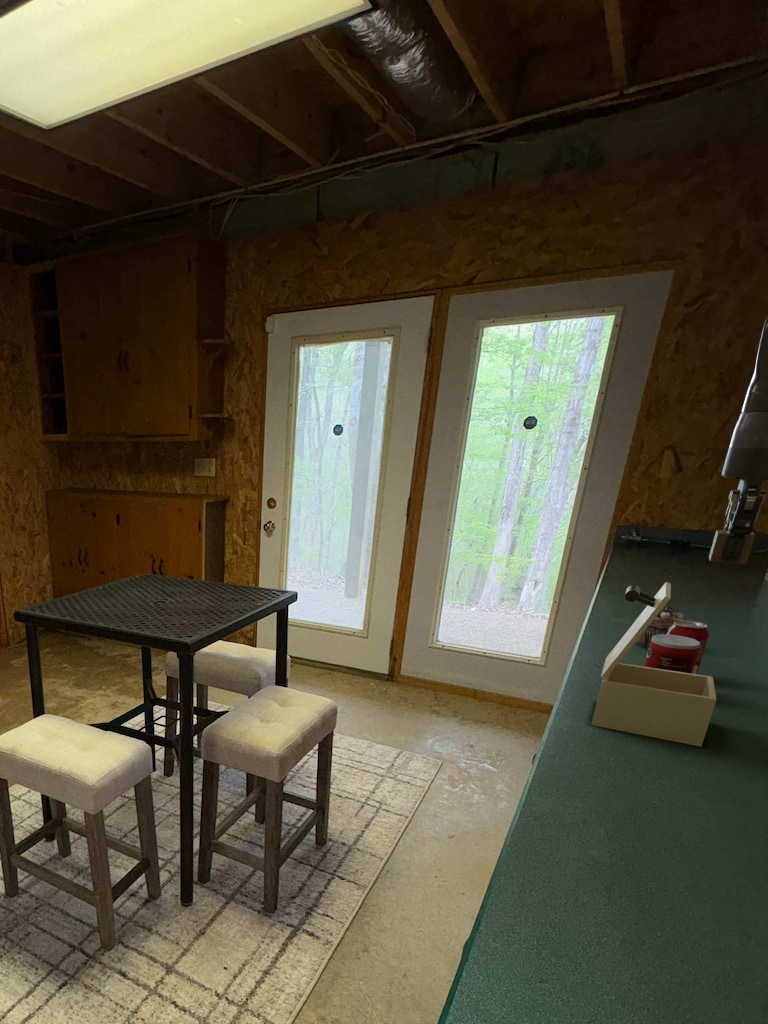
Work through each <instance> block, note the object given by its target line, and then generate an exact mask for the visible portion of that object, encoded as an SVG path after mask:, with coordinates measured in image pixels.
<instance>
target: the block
mask: <svg viewBox="0 0 768 1024" xmlns="http://www.w3.org/2000/svg"><path fill="white" fill-rule="evenodd" d="M727 531H728V530H724V529H716V530H715V534H714V537H713V540H712V544H711V548H710V551H709V556H708V560H709V562H714V563H725V562H724V561H722V560H721V556H722V552H723V549H724V546H725V542H726V539H727V534H726V533H727ZM755 537H756V534H755V533H754V531H752V533H750V535H748V538H746V540H745V543H744V547H743V550H742V553H741V556H740V560H739V561H738V562H726V563H729V564H743V565H745V564H747V563H748V559H749V556H750V553H751V551H752V546H753V543H754V541H755Z"/></svg>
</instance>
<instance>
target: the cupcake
mask: <svg viewBox="0 0 768 1024" xmlns="http://www.w3.org/2000/svg"><path fill="white" fill-rule="evenodd" d="M679 610H680V609H677V608H673V607H671V606H670V605H669V606H666V607H664V608H663V609H662V610H661V611H660V612H659V614H658V615H657V616H656V617H655V619H654V620H653V621H652V622H651V624H650V625H649V626H648V627H647V628H646V630H645V631H644V632H643V633H642V635H641V636H640V646H641V648H643V649H646V650H648V648H649V645H650V641H651V639H652V636H654V635H660V634H667V631H668V629H669V628H670V627H671V626H672V625H674V621H677V620H686V618H685V616H684V615H683V614H682V613H681V612H680V611H679Z"/></svg>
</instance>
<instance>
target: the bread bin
mask: <svg viewBox="0 0 768 1024" xmlns="http://www.w3.org/2000/svg"><path fill="white" fill-rule="evenodd" d="M716 703H717V694H716V688H715V681H714V676H712V675H703V674H698V673H697V674H691V673H684V672H677V671H670V670H663V669H656V668H650V667H644V665H643V666H642V665H634V664H628V663H621V662H619V663H618V665H617V666H616V667H615V668H614V669H613V671H612V672H611V673H610V674H609V676H608V677H607V678H606V679H605V680H604V679H602V680H601V684H600V688H599V693H598V696H597V701H596V704H595V709H594V713H593V716H592V722H591V726H593V727H599V728H603V729H609V730H614V731H619V732H625V733H629V734H635V735H640V736H643V737H644V736H645V737H650V738H655V739H659V740H666V741H669V742H676V743H680V744H686V745H691V746H696V747H699V748H702V747H703V744H704V740H705V738H706V734H707V731H708V728H709V725H710V721H711V718H712V715H713V712H714V709H715V706H716Z"/></svg>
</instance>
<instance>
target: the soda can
mask: <svg viewBox="0 0 768 1024" xmlns="http://www.w3.org/2000/svg"><path fill="white" fill-rule="evenodd" d="M707 628H708V624H707V623H705V622H701V621H695V620H689V619H688V620H687V619H685V620H677V621H674V625H672V626H671V627H670V628H669V629H668V631H667V634H668V635H678V636H684V637H688V638H692V639H694V640H697V641H699V642H700V648H699V652H698V655H697V659H696V662H695V665H694V668H693V672H692V674H698V672H699V669H700V665H701V662H702V659H703V657H704V656H703V655H704V652H705V649H706V645H707V642H708V640H709V636H710V633H709V631H708V629H707Z"/></svg>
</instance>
